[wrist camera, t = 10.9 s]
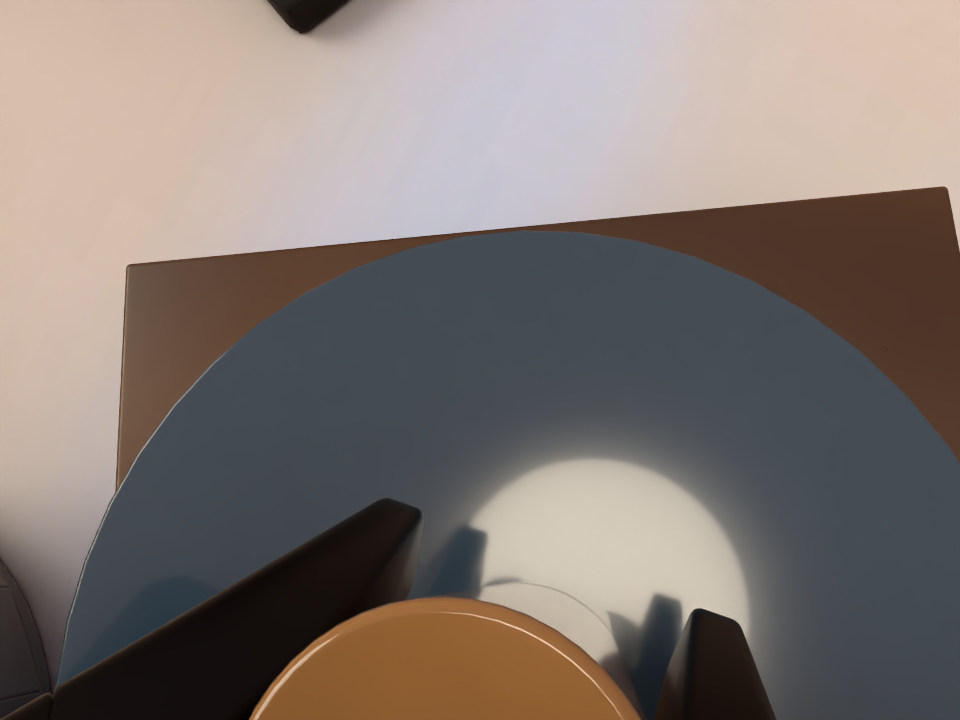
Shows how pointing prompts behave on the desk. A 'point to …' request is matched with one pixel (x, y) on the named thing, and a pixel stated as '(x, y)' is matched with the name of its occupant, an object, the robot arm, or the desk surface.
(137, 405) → the trivet
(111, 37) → the desk surface
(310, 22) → the handheld gaming console
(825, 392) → the lid
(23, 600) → the pot
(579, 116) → the desk surface
